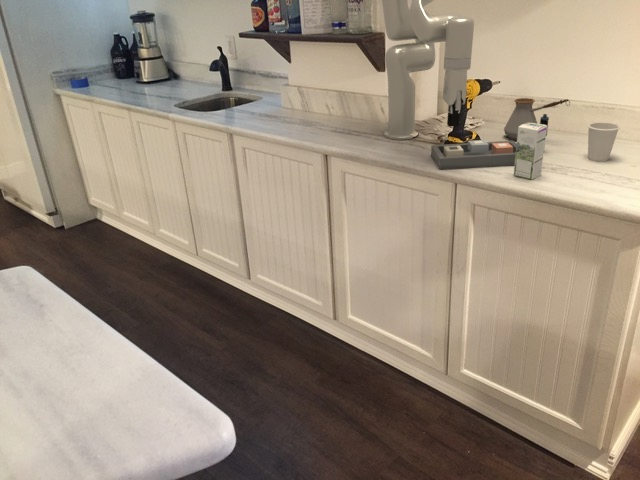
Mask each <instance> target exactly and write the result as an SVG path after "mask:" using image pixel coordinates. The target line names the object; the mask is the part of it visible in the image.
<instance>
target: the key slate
mask: <svg viewBox="0 0 640 480" xmlns="http://www.w3.org/2000/svg"><path fill="white" fill-rule="evenodd" d="M487 142H488V141H486V140H485V139H478V140H476V139H475V140H468V141H467V143H468V149H469V151H470V152H471V153H482V152H488V148H489V144H488V143H487Z"/></svg>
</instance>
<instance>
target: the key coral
mask: <svg viewBox="0 0 640 480" xmlns="http://www.w3.org/2000/svg"><path fill="white" fill-rule="evenodd" d="M491 151H492V152H493V153H494V154H500V153H513V146H512V145H510V144H509V143H492V150H491Z"/></svg>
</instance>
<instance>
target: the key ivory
mask: <svg viewBox="0 0 640 480" xmlns="http://www.w3.org/2000/svg"><path fill="white" fill-rule="evenodd" d="M463 152H464V150H463V149H462V148H461V146H460V145H459V146H444V152H443V154H444V155H445V157H450V156H463Z"/></svg>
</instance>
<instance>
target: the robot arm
mask: <svg viewBox="0 0 640 480" xmlns="http://www.w3.org/2000/svg"><path fill="white" fill-rule="evenodd" d="M433 1H434V0H412V1H411V2H410V6H409V2H408V0H381V4H382V10H383V11H382V13H383V19H384V26H385V33H386V37H387V38H388V39H389V40H390V41H393V42H398V41H399V42H401V41H411V40H415V42H413V43H401V44H395V45H392V46H390V47H389V48H388V49H387V50H386V52H385V56H384V63H385V68H386V74H387V76H386V77H387V93H388V94H387V95H388V96H387V98H388V99H387V100H388V103H387V104H388V107H387V109H388V111H387V112H388V115H387V116H388V117H387V118H388V119H387V120H388V121H387V122H388V123H387V124H388V127H387V128H388V129H387V130H385V131H384V133H383V136H384V137H385V138H387V139H391V140H399V141H403V140H412V139H413V138H412V135H410V134H412V133H413V132H414V131H415V129H416V126H415V125H416V120H415V119H416V84H415V81H414V80H413V78H412V77H411V76H410V74H411V73H415V72H423V71H424V72H425V71H428V70H431V69H432V68H433V67H434V65H435V63H436V47H435V43H436V44H437V43H442V42H444V56H443V58H444V60H443V70H445V72H444V77H443V78H444V79H443V87H442V99H443V101H444V102H445V103H446V104H447V105H448V106H447V107H448V108H447V111H448V112H447V119H446V121H447V122H446V124H447V127H449V128H451V127H459V126H460V116H461V115H460V114H461V109H462V108H461V107H462V106H464V105H465V104H466V99H467V86H468V83H467V82H468V81H467V80H468V71H469V70H470V69H471V64H472V54H473V52H472V51H473V43H474V42H473V40H474V31H475V21H474V19H473V18H472V17H470V16H463V15H461V14H459V13H441V14H440V13H439V14H431V15H430V14H429V12H428V11H427V10H425V9H424V7H426V6H427V5H428V4H430V3H432V2H433Z"/></svg>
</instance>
